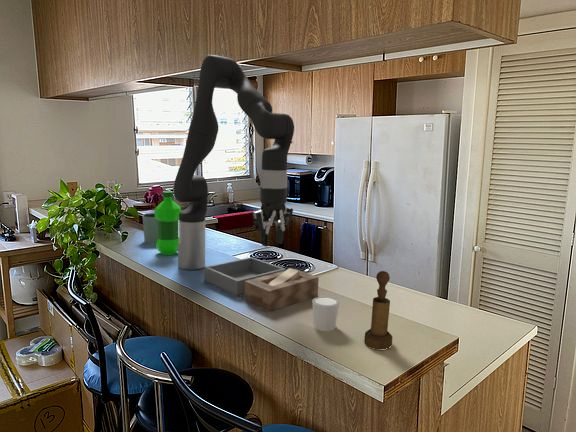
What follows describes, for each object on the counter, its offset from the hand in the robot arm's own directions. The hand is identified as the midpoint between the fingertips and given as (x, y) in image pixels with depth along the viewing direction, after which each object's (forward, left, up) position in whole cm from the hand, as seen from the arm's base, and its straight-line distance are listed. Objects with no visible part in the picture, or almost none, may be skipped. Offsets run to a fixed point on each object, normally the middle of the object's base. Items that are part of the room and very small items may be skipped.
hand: (272, 244), depth 127 cm
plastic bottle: (-43, +50, -18) cm, 68 cm away
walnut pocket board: (+3, +3, -17) cm, 18 cm away
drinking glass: (-54, +69, -18) cm, 89 cm away
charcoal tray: (-9, +16, -17) cm, 25 cm away
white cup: (+14, -16, -18) cm, 28 cm away
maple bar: (+3, +3, -14) cm, 14 cm away
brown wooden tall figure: (+26, -25, -18) cm, 41 cm away
